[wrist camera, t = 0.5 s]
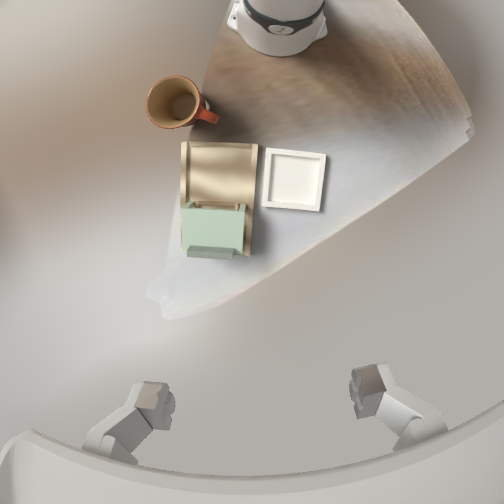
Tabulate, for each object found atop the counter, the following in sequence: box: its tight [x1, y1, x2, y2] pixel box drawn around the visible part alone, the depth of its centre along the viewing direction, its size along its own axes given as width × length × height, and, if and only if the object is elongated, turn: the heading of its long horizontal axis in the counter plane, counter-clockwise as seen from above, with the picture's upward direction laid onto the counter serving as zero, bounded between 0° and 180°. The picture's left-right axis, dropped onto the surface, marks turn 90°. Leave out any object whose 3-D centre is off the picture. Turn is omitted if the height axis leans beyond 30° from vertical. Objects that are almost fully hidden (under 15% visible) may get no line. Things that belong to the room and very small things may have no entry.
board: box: [181, 142, 258, 256], centre depth 51 cm, size 22×14×1 cm, turn 176°
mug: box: [146, 76, 220, 129], centre depth 40 cm, size 12×9×10 cm
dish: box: [262, 147, 326, 211], centre depth 49 cm, size 11×11×2 cm
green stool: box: [181, 201, 246, 260], centre depth 49 cm, size 8×11×8 cm
